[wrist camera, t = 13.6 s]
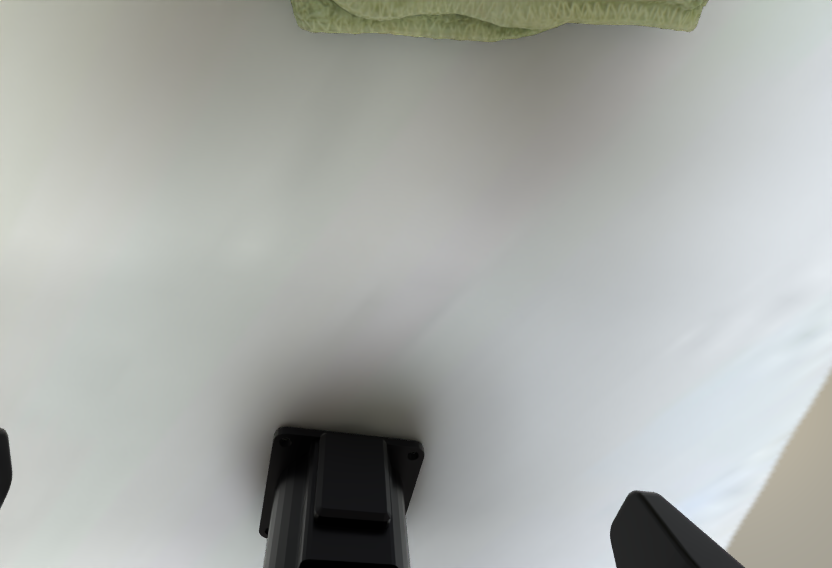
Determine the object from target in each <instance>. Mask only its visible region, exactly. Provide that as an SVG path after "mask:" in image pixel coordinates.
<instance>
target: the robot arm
mask: <svg viewBox="0 0 832 568" xmlns="http://www.w3.org/2000/svg"><path fill="white" fill-rule="evenodd" d="M282 438H288V439H290V440H283V439H282ZM410 452H415V453H410ZM423 459H424V448H423V445H422V444H421V443H420V442H417V441H412V440H403V439H394V438H385V437H376V436H367V435H357V434H348V433H339V432H330V431H321V430H312V429H303V428H294V427H282V428H279V429H278V430H277V431H276V432H275V434H274V439H273V446H272V452H271V458H270V465H269V471H268V477H267V484H266V490H265V496H264V502H263V509H262V515H261V521H260V528H259V533H260V535H261V536H263V537H265V538H267V545H266V552H265V558H264V565H263V568H410V559H409V548H408V537H407V527H406V516H405V515H406V512H407V509H408V506H409V503H410V500H411V496H412V493H413V490H414V487H415V484H416V481H417V478H418V475H419V472H420V468H421V465H422V462H423ZM11 481H12V465H11V456H10V448H9V440H8V435H7V432H6V431H5V430H4V429H2V428H0V508H1V506H2V504H3V502H4V500H5V498H6V496H7V493H8V491H9V488H10V485H11ZM610 539H611V545H612V549H613V553H614V558H615V562H616V567H617V568H745V567H743V566H742V565H741V564H740V563H739V562H738V561H737V560H735V559H734V558H733V557H732V556H731V555H730V554H728V553H727V552H726V551H725V550H724V549H723V548H722V547H720V546H719V545H718V544H717V543H716V542H715V541H713V540H712V539H711V538H710V537H709V536H708V535H706V534H705V533H704V532H703V531H702V530H701V529H699V528H698V527H697V526H696V525H695V524H694V523H692V522H691V521H690V520H689V519H688V518H687V517H685V516H684V515H683V514H682V513H681V512H680V511H678V510H677V509H676V508H675V507H674V506H673V505H671V504H670V503H669V502H668V501H667V500H666V499H665V498H663V497H662V496H661V495H659V494H657V493H654V492H646V491H632V492H631V493H629V494H628V496H627V497H626V499H625V501H624V503H623V505H622V506H621V508H620V510H619V512H618V514H617V515H616V517H615V519H614V521H613V523H612V525H611V529H610Z"/></svg>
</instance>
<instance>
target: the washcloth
mask: <svg viewBox="0 0 832 568" xmlns="http://www.w3.org/2000/svg"><path fill="white" fill-rule="evenodd" d="M707 1H708V0H291V4H292V7H293V12H294V16H295V18H296V21H297V24H298V26H299V27H300V28H302V29H304V30H307V31H310V32H313V33H318V32H325V33H351V34H360V33H380V34H387V33H391V34H394V35H404V36H413V37H427V38H433V39H454V40H460V41H461V40H471V41H483V42H496V41H499V40H504V39H516V38H521V37H526V36H532V35H535V34H538V33H541V32H543V31H546V30H549V29H552V28H557V27H558V26H560V25H563V24H565V23H577V24H578V23H582V24H594V25H638V26H648V27H658V28H661V29H673V30H676V31H686V32H690V31H693V30H694V29H695V28H696V26H697V23H698V20H699V18H700V15H701V12H702V8H703V6H706V3H707Z"/></svg>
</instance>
